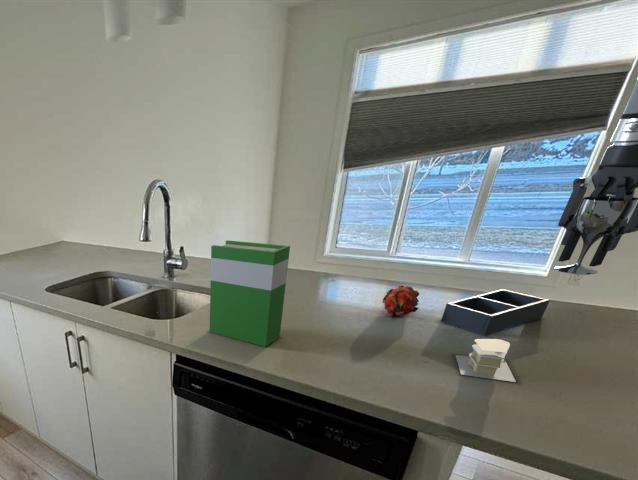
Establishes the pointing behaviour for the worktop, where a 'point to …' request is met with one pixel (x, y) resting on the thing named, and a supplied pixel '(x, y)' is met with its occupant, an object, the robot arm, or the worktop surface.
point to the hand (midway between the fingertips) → (579, 262)
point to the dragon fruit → (401, 301)
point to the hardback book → (248, 290)
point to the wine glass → (596, 225)
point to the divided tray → (494, 311)
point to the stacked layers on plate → (486, 360)
